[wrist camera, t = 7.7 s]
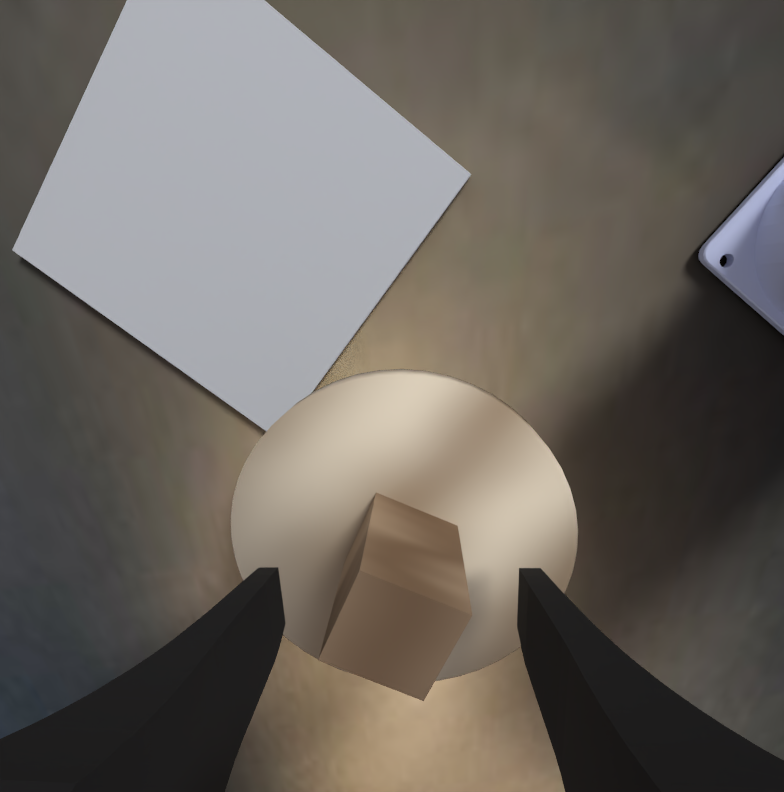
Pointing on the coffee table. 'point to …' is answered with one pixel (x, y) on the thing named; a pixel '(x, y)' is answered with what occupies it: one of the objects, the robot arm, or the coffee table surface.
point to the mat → (234, 198)
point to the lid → (403, 524)
